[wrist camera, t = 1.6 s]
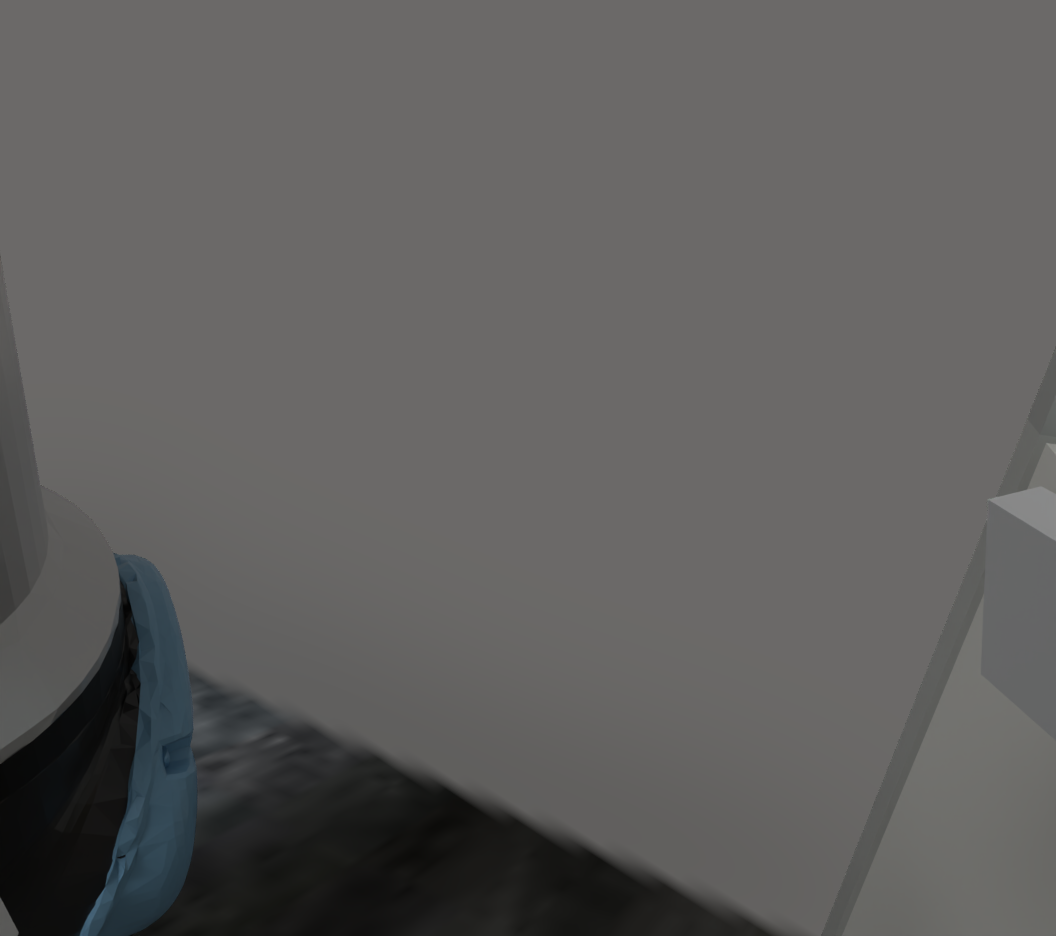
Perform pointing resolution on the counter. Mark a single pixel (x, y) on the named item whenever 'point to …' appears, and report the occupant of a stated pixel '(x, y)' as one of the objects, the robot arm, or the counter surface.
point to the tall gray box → (964, 778)
